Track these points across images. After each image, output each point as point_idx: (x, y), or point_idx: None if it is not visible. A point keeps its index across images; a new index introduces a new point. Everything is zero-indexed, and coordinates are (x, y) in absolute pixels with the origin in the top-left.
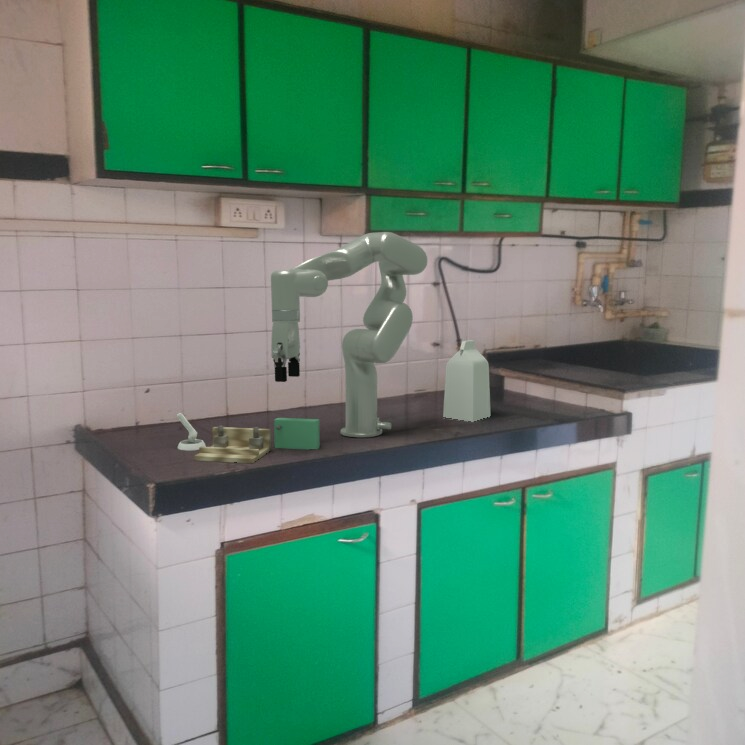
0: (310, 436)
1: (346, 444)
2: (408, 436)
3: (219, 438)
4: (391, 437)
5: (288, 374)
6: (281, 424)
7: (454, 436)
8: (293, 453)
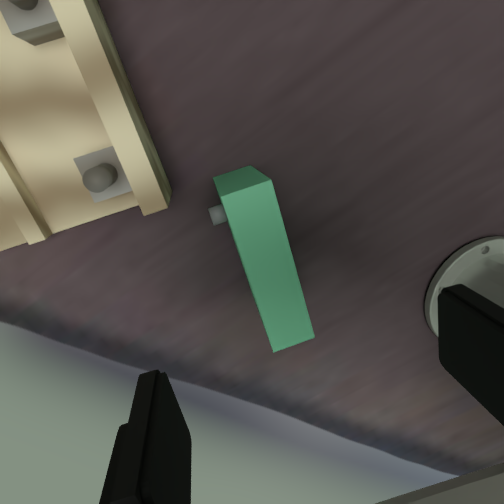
0: (256, 304)
1: (345, 329)
2: None
3: (2, 9)
4: None
5: (452, 292)
6: (229, 223)
7: (494, 459)
8: (182, 273)
